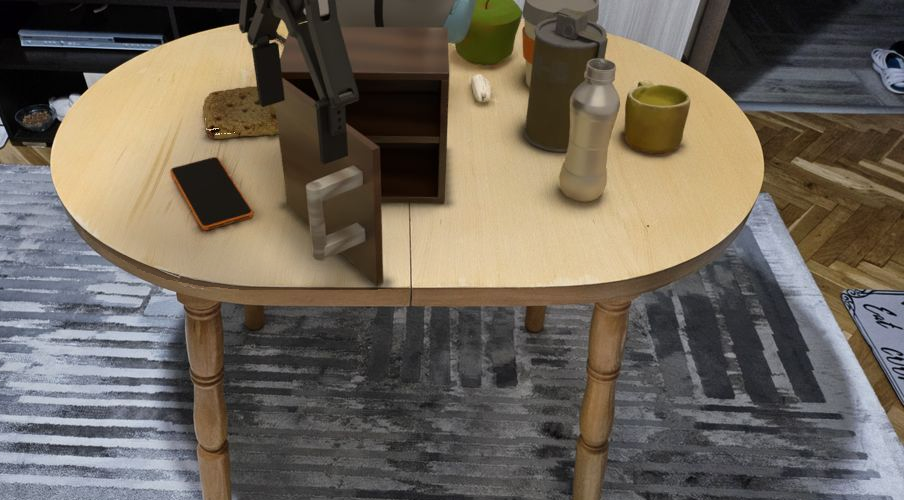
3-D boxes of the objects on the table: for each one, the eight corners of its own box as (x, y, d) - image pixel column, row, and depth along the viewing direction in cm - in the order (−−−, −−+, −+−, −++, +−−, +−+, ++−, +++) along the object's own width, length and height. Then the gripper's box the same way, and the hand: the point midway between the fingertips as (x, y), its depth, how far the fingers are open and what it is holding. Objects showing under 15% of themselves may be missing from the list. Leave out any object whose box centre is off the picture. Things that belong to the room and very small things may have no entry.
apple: (508, 42, 155) (513, -17, 148) (524, 70, 146) (530, 9, 139) (444, 46, 154) (446, -13, 147) (456, 74, 145) (459, 13, 138)
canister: (510, 136, 129) (521, 14, 116) (548, 112, 134) (563, -7, 121) (567, 161, 123) (586, 35, 110) (604, 135, 129) (626, 13, 116)
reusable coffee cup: (579, 66, 147) (592, -16, 138) (594, 99, 138) (608, 13, 128) (511, 67, 147) (518, -15, 137) (521, 100, 138) (529, 14, 128)
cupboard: (444, 203, 115) (449, 73, 102) (290, 201, 115) (275, 71, 102) (443, 151, 125) (447, 27, 112) (302, 150, 126) (290, 26, 113)
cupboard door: (330, 308, 98) (319, 170, 85) (243, 222, 111) (222, 92, 98) (383, 283, 101) (380, 147, 88) (292, 202, 115) (278, 74, 102)
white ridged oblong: (475, 106, 136) (475, 91, 134) (469, 84, 142) (469, 70, 140) (493, 106, 136) (494, 91, 134) (486, 84, 142) (487, 69, 140)
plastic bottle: (593, 212, 113) (618, 80, 100) (549, 198, 116) (567, 68, 103) (610, 190, 117) (636, 61, 104) (567, 176, 120) (586, 49, 107)
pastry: (174, 124, 132) (170, 107, 130) (246, 83, 143) (243, 67, 141) (253, 155, 125) (250, 138, 123) (323, 109, 135) (321, 93, 133)
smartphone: (203, 232, 109) (202, 227, 109) (169, 173, 121) (168, 168, 120) (256, 216, 112) (255, 211, 111) (218, 160, 123) (217, 155, 123)
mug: (700, 152, 121) (691, 88, 117) (630, 167, 124) (619, 105, 120) (689, 126, 132) (680, 67, 127) (625, 140, 134) (614, 82, 130)
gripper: (183, -113, 76) (219, 91, 90) (310, -34, 60) (329, 198, 74) (256, -126, 79) (279, 73, 93) (394, -54, 64) (397, 173, 78)
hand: (301, 129), depth 84 cm, fingers open, 13 cm apart
